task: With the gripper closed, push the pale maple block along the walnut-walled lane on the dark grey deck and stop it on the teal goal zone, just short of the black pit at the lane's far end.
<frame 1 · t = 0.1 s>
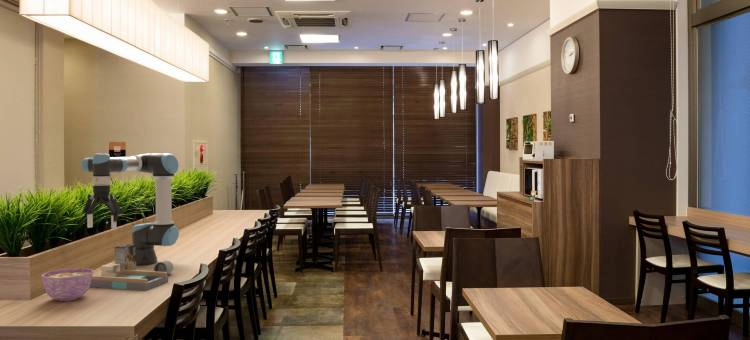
hand: (101, 227, 260), 28 cm above the table, tool pointing down, fingers open, 13 cm apart
coffee box: (125, 276, 277), on the table
bowl of food: (68, 299, 233), on the table
ceramic mug: (161, 275, 279), on the table
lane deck: (128, 284, 260), on the table
maple block: (110, 276, 262), point 3 cm above the table, touching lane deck
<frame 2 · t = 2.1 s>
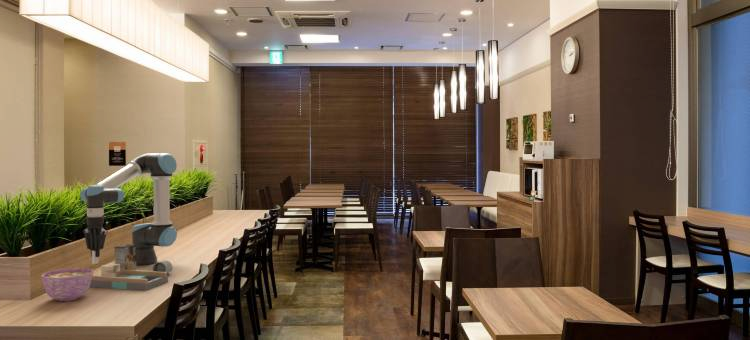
hand: (95, 263, 263), 9 cm above the table, tool pointing down, fingers closed
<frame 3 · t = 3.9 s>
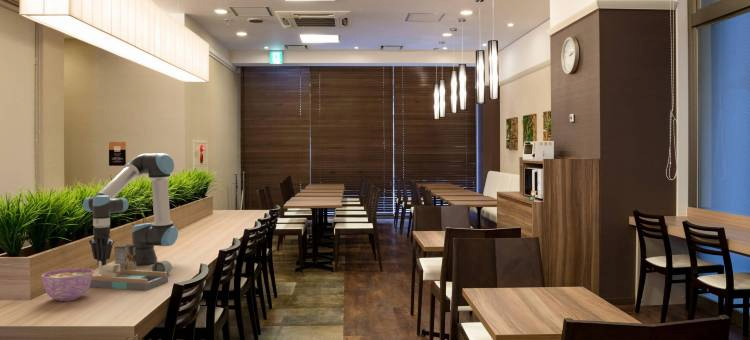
hand: (101, 273, 263), 5 cm above the table, tool pointing down, fingers closed
maple block: (110, 276, 262), point 3 cm above the table, touching gripper
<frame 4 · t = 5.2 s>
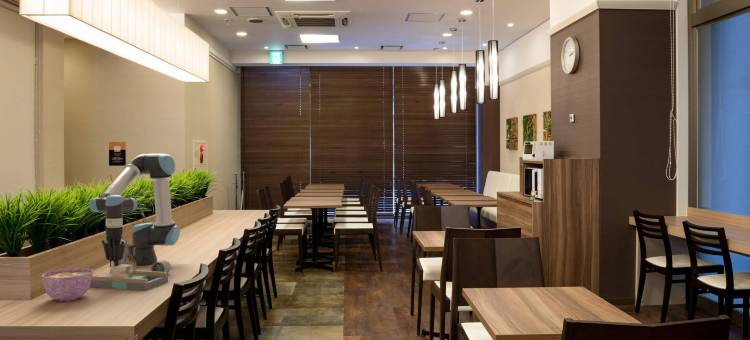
hand: (114, 273, 261), 5 cm above the table, tool pointing down, fingers closed
maple block: (123, 277, 260), point 3 cm above the table, touching gripper
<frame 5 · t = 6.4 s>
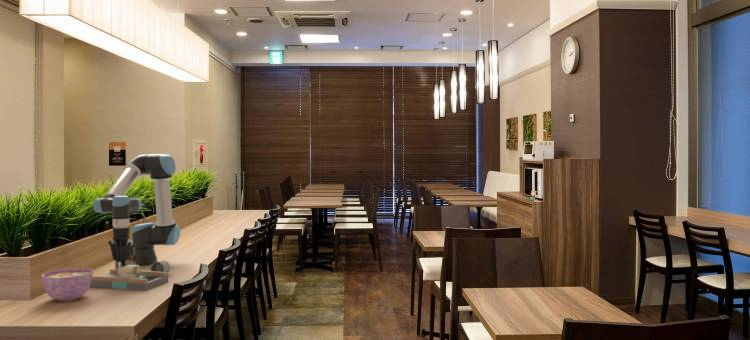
hand: (121, 274, 260), 5 cm above the table, tool pointing down, fingers closed
maple block: (130, 278, 259), point 3 cm above the table, touching gripper, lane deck
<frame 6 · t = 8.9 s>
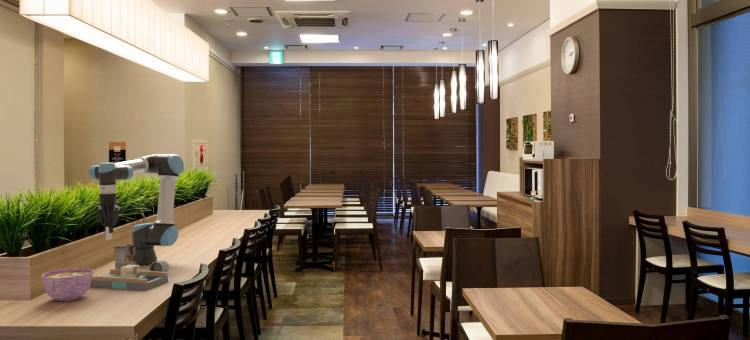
hand: (109, 239, 267), 21 cm above the table, tool pointing down, fingers closed
maple block: (130, 278, 259), point 3 cm above the table, touching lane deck
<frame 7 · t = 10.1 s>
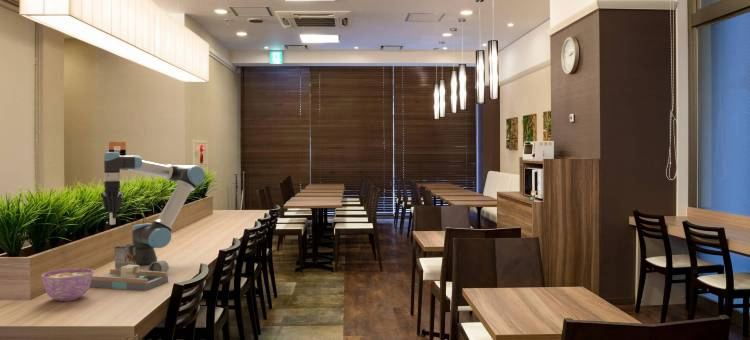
hand: (112, 224, 283), 26 cm above the table, tool pointing down, fingers closed
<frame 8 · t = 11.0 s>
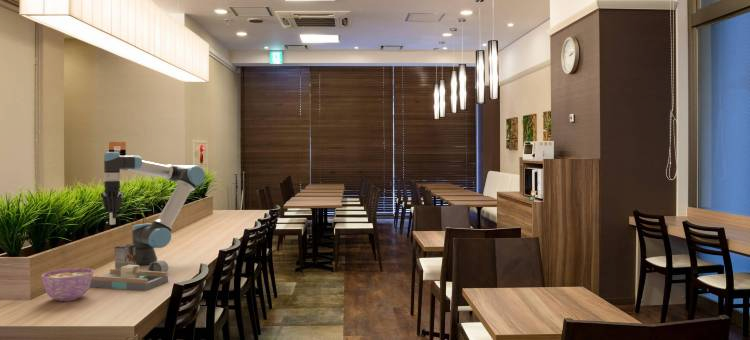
hand: (112, 224, 283), 26 cm above the table, tool pointing down, fingers closed
at the end: maple block inside the target area on the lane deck (0.2 cm from its centre), point 3.0 cm above the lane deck's base; maple block tilted 0°; maple block moved 11.3 cm from its start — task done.
